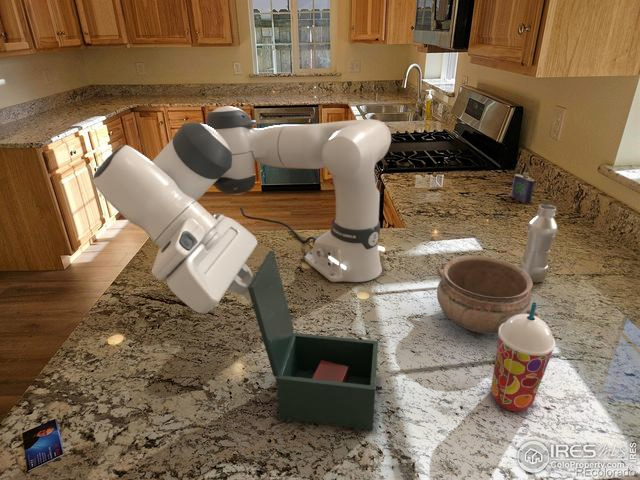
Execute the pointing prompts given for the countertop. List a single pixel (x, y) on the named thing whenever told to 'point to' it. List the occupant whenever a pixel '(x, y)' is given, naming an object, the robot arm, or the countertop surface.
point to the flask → (522, 188)
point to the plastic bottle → (539, 243)
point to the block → (331, 372)
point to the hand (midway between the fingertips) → (256, 294)
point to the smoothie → (521, 360)
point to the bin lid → (271, 311)
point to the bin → (328, 396)
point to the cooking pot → (483, 292)
